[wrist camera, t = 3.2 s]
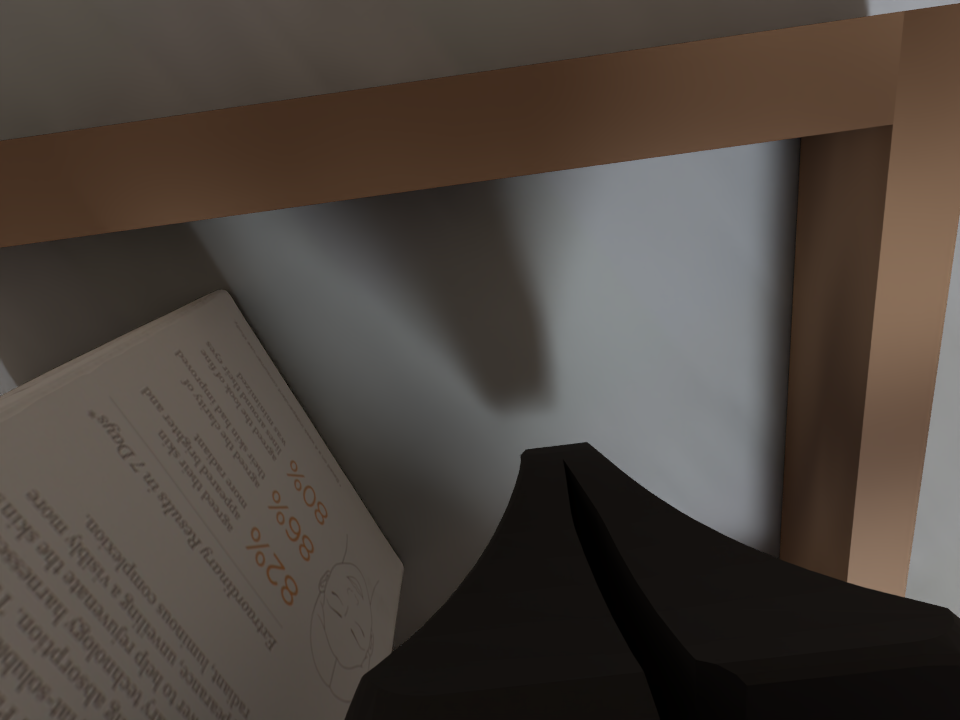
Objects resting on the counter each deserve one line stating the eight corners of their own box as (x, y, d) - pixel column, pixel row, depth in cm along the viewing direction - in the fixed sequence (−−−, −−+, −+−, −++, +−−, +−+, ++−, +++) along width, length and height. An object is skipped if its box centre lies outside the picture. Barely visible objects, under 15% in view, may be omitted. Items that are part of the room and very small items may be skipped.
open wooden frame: (818, 661, 15) (882, 752, 13) (54, 747, 16) (-18, 849, 13) (871, 36, 10) (990, -2, 8) (-236, 194, 11) (-431, 202, 9)
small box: (15, 388, 12) (-1829, 1299, 2) (233, 279, 12) (-1101, 936, 2) (221, 645, 15) (-283, 1624, 5) (412, 568, 14) (275, 1527, 4)
